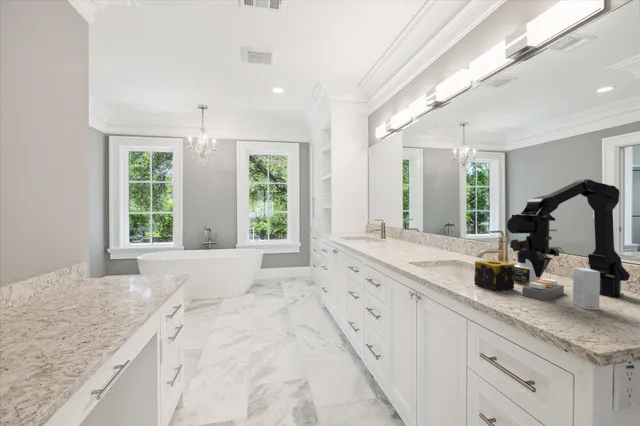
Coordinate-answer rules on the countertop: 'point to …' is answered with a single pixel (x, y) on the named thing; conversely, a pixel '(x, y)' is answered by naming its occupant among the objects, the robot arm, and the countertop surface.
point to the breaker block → (543, 292)
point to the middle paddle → (548, 284)
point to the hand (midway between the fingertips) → (538, 277)
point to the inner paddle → (550, 281)
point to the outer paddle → (537, 285)
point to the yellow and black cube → (494, 275)
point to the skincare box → (586, 288)
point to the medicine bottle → (524, 272)
